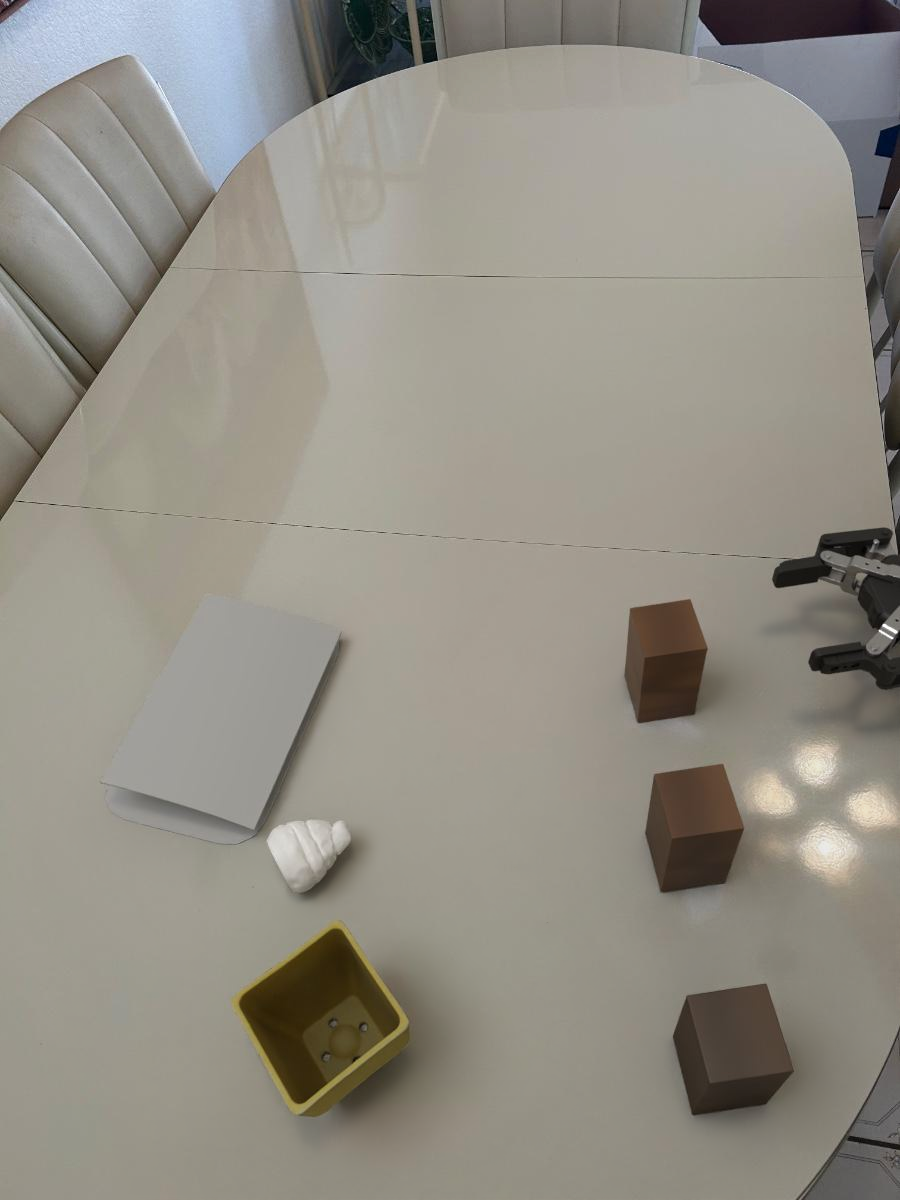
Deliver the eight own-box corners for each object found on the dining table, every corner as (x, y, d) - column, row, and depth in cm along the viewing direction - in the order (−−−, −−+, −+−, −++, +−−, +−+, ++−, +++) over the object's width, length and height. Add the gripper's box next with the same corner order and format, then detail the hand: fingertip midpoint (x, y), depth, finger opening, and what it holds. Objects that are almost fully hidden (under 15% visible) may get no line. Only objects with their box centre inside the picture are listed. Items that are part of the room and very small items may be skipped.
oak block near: (743, 1025, 65) (766, 982, 57) (766, 1104, 62) (794, 1071, 54) (672, 1035, 65) (686, 995, 57) (692, 1115, 62) (709, 1084, 54)
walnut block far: (679, 667, 84) (690, 598, 76) (694, 714, 81) (708, 648, 73) (624, 675, 84) (629, 607, 76) (637, 723, 81) (644, 657, 73)
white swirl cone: (368, 868, 75) (356, 840, 71) (301, 907, 74) (284, 880, 69) (339, 814, 78) (326, 784, 74) (274, 851, 77) (257, 822, 72)
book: (93, 811, 81) (74, 791, 78) (207, 605, 94) (195, 580, 91) (253, 852, 77) (240, 832, 74) (349, 631, 90) (341, 606, 87)
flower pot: (324, 1142, 63) (293, 1119, 56) (262, 1033, 68) (226, 998, 61) (429, 1056, 66) (412, 1023, 59) (362, 957, 71) (339, 915, 64)
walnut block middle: (707, 823, 74) (723, 763, 67) (725, 883, 71) (744, 828, 64) (644, 832, 75) (653, 773, 67) (660, 893, 71) (671, 838, 64)
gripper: (966, 491, 77) (770, 522, 77) (1057, 628, 68) (836, 663, 68) (938, 551, 82) (756, 580, 82) (1018, 685, 73) (814, 717, 73)
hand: (792, 617), depth 75 cm, fingers open, 8 cm apart
